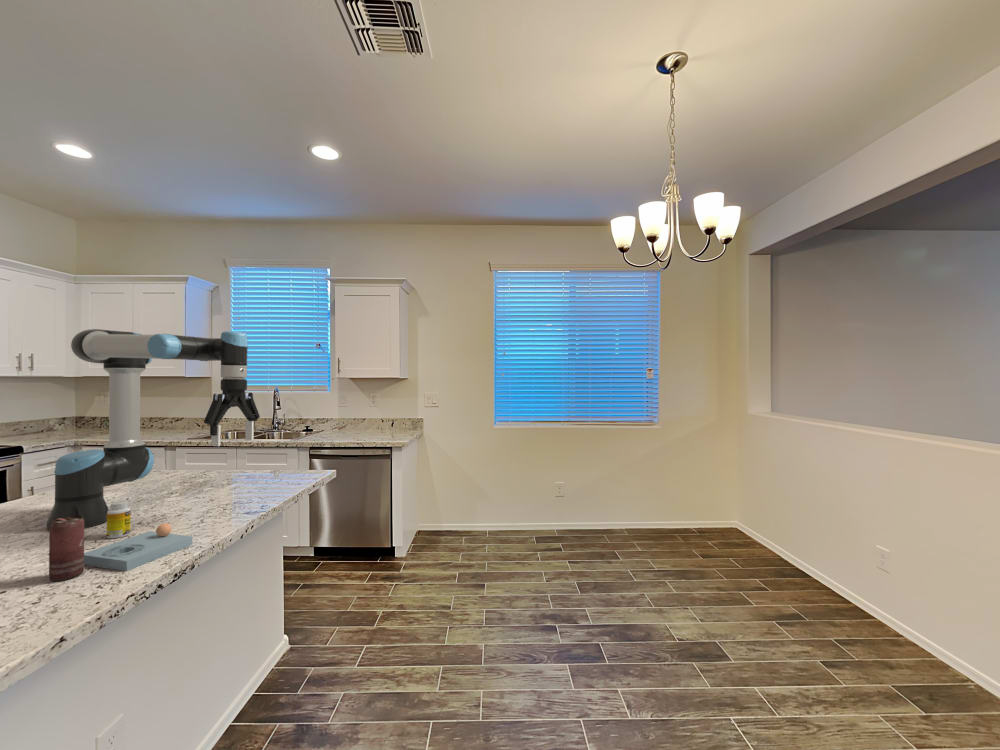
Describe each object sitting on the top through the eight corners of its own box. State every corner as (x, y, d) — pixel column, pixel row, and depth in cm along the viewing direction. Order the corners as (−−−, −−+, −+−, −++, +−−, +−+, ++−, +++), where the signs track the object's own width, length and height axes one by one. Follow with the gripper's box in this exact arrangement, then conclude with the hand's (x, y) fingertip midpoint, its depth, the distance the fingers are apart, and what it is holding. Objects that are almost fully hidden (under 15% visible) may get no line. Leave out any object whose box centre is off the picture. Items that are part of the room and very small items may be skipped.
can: (63, 571, 111) (63, 515, 111) (90, 570, 112) (91, 515, 112) (40, 582, 105) (40, 523, 105) (69, 581, 105) (69, 522, 106)
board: (79, 564, 115) (79, 554, 115) (149, 539, 133) (149, 531, 133) (126, 571, 111) (126, 561, 111) (192, 544, 129) (192, 536, 129)
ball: (152, 537, 128) (152, 525, 128) (165, 533, 131) (165, 521, 131) (162, 538, 127) (162, 526, 127) (174, 534, 130) (174, 522, 130)
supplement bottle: (127, 537, 134) (127, 503, 134) (103, 540, 132) (104, 505, 132) (132, 531, 139) (133, 499, 139) (110, 534, 137) (110, 501, 137)
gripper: (210, 378, 134) (210, 449, 134) (271, 378, 158) (270, 438, 158) (190, 378, 135) (189, 448, 135) (253, 378, 160) (252, 437, 160)
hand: (233, 442), depth 147 cm, fingers open, 13 cm apart
